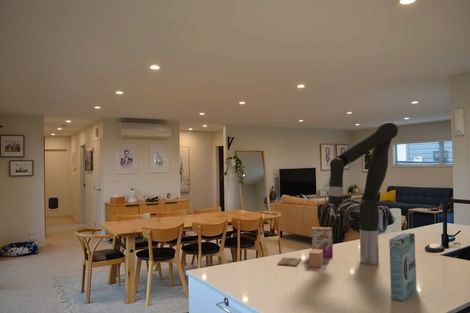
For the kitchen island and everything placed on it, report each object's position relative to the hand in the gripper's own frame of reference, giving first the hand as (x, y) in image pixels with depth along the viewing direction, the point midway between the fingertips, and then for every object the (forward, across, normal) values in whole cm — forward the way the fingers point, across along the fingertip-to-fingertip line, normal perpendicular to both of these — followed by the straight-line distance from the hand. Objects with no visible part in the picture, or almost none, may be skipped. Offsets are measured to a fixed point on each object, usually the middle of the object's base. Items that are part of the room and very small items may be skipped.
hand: (334, 225), depth 196 cm
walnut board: (+21, -2, +24) cm, 32 cm away
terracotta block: (+20, -7, +11) cm, 24 cm away
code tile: (+20, -7, +11) cm, 24 cm away
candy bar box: (+20, +10, +4) cm, 23 cm away
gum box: (+19, -50, -15) cm, 55 cm away
